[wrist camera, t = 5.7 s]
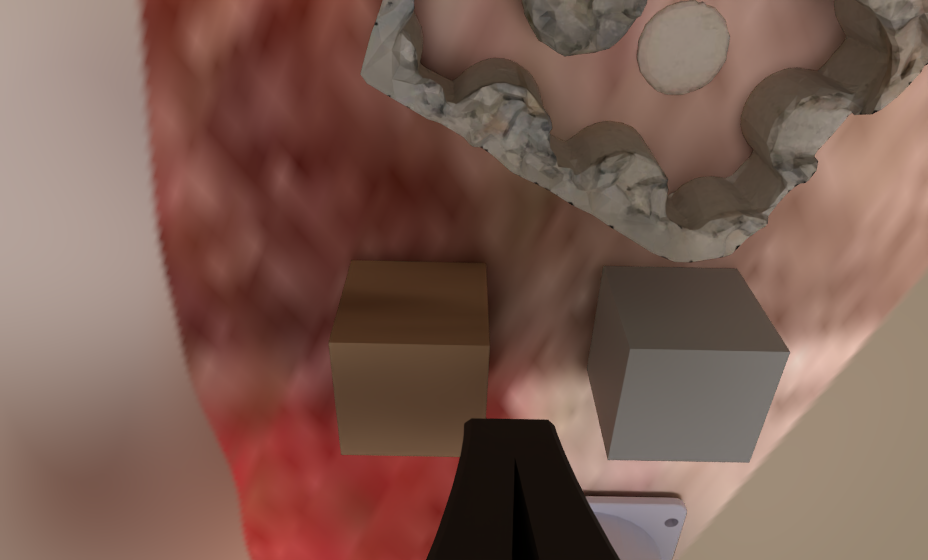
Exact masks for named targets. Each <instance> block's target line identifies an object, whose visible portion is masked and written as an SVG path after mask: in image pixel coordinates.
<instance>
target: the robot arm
mask: <svg viewBox="0 0 928 560" xmlns="http://www.w3.org/2000/svg"><path fill="white" fill-rule="evenodd" d="M686 514H687V509H686V506H685V503H684V502H683V501H682V500H681V499H678V498H662V497H610V496H585V495H584V493H583V491H582V489H581V487H580V485H579V483H578V481H577V479H576V477H575V474H574V472H573V470H572V468H571V466H570V464H569V461H568V459H567V457H566V455H565V452H564V450H563V447H562V445H561V442H560V440H559V437H558V435H557V432H556V429H555V426H554V425H553V424H552V423H551V422H550V421H549V420H531V419H482V418H471V419H470V420H468V421H467V422H465V423H464V436H463V443H462V449H461V454H460V459H459V464H458V468H457V472H456V475H455V479H454V483H453V486H452V490H451V493H450V496H449V499H448V502H447V505H446V508H445V511H444V514H443V517H442V520H441V523H440V526H439V529H438V531H437V534H436V537H435V539H434V542H433V544H432V547H431V549H430V552H429V554H428V557H427V559H426V560H672V558H673V555H674V552H675V549H676V546H677V543H678V540H679V536H680V533H681V530H682V527H683V524H684V521H685V518H686Z"/></svg>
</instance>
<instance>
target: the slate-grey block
mask: <svg viewBox="0 0 928 560" xmlns="http://www.w3.org/2000/svg"><path fill="white" fill-rule="evenodd" d="M789 354H790V351H789V349H788V348H787V346H786V345H785V343H784V342H783V340H782V338H781V337H780V335H779V334H778V332H777V331H776V329H775V327H774V326H773V324H772V323H771V321H770V320H769V318H768V316H767V315H766V313H765V312H764V310H763V309H762V307H761V305H760V304H759V302H758V301H757V299H756V298H755V296H754V294H753V293H752V291H751V290H750V288H749V287H748V285H747V284H746V282H745V280H744V279H743V277H742V276H741V274H740V273H739V271H738V269H731V268H683V267H635V266H603V271H602V278H601V284H600V290H599V296H598V303H597V309H596V315H595V321H594V328H593V334H592V340H591V346H590V353H589V359H588V365H587V371H588V375H589V380H590V384H591V389H592V393H593V397H594V402H595V406H596V410H597V415H598V419H599V424H600V428H601V432H602V437H603V441H604V445H605V450H606V454H607V459H608V460H641V461H694V462H747V463H749V462H750V459H751V457H752V454H753V451H754V448H755V446H756V443H757V440H758V438H759V435H760V432H761V430H762V427H763V424H764V421H765V419H766V416H767V413H768V411H769V408H770V405H771V402H772V400H773V397H774V394H775V392H776V389H777V386H778V384H779V381H780V378H781V375H782V373H783V370H784V367H785V365H786V362H787V359H788V357H789Z"/></svg>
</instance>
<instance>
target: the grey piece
mask: <svg viewBox="0 0 928 560" xmlns="http://www.w3.org/2000/svg"><path fill="white" fill-rule="evenodd" d="M522 4H523V8H524V14H525V16H526V18H527V20H528V22H529V24H530V26H531V28H532V30H533V31H534V33H535V35H536V37H537V38H538V40H539V41H541V42H543V43H545V44H546V45H548V46H549V47H550V48H552V49H553V50H555V51H556V52H557V53H559V54H561V55H563V56H571V55H577V54H586V53H594V52H598V51H602V50H606V49H609V48H610V47H612V46H613V45H614V44H615V43H617V42H618V41H619V40H620V39H621V38H622V37H623V36H624V35H625V34H626V32H627V31H628V29H629V28H630V27H631V25H632V24H633V22H634V21H635V20H636V18H637V17H639V16H641V14H642V12H643V10H644V8H645V6H646V4H647V0H522ZM834 8H835V15H836V18H837V20H838V22H839V24H840V26H841V28H842V30H843V31H844V32H845V34H846V39H845V40H844V42H843V43H842V44H841V46H840V47H839V48H838V49H837V50H836V51H835V52H834V54H833V55H832V56H831V57H830V59H829V60H828V61H827V62H826V63H825V64H824V65H823V66H822V67H821V68H820V69H819V70H818V71H815V70H809V69H804V68H788V69H784V70H781V71H779V72H776V73H774V74H772V75H770V76H768V77H767V78H765V79H764V80H763V81H762V82H761V83H759V84H758V85H757V86H756V88H755V89H754V90H753V91H752V93H751V94H750V96H749V97H748V100H747V101H746V103H745V106H744V108H743V111H742V114H741V129H742V133H743V135H744V137H745V139H746V141H747V142H748V144H749V145H750V146H751V147H752V148H753V149H754V150H753V152H752V154H751V156H750V157H749V159H747V160H746V161H745V162H744V163H743V164H742V165H741V166H740V167H739V168H738V170H737V171H736V172H735V173H734V174H733V175H731V176H729V177H726V178H722V177H714V176H708V177H699V178H696V179H693V180H691V181H689V182H687V183H685V184H684V185H682V186H681V187H680V188H679V189H678V190H677V191H675V192H674V193H671V194H670V195H667V193H668V187H667V181H668V179H667V177H666V176H665V174H664V172H663V171H662V169H661V167H660V166H659V164H658V162H657V161H656V159H655V158H654V156H653V154H652V153H651V151H650V150H649V148H648V147H647V145H646V144H645V142H644V140H643V139H642V137H641V136H640V135H639V133H638V132H637V131H636V130H635V129H634V128H633V127H631V126H628V125H626V124H624V123H619V122H613V121H605V122H599V123H596V124H593V125H591V126H588V127H586V128H584V129H583V130H581V131H580V132H579V133H577V134H576V135H575V136H573V137H572V138H571V139H569V140H568V141H563V140H560V139H558V138H556V137H554V136H553V135H551V134H550V130H551V129H552V122H551V119H550V117H549V115H548V113H547V112H546V111H545V109H544V107H543V103H542V100H541V96H540V93H539V90H538V87H537V84H536V82H535V80H534V78H533V76H532V75H531V74H530V73H529V72H528V71H526V70H525V69H524V68H523V67H521V66H520V65H518V64H517V63H515V62H513V61H511V60H507V59H502V58H490V59H486V60H483V61H480V62H478V63H476V64H474V65H472V66H470V67H469V68H468V69H466V70H465V71H464V72H463V73H462V74H461V75H460V76H459V77H457V78H456V79H455V80H453V81H451V80H449V79H447V78H444V77H442V76H440V75H439V74H437V73H435V72H433V71H431V70H429V69H427V68H425V67H424V66H423V65H422V64H421V63H420V59H421V55H422V50H423V33H422V27H421V24H420V22H419V21H418V19H417V17H416V15H415V13H414V0H383V1H382V4H381V7H380V10H379V13H378V16H377V19H376V22H375V25H374V28H373V30H372V33H371V36H370V40H369V44H368V47H367V51H366V55H365V59H364V62H363V66H362V70H361V76H362V77H363V79H364V80H365V81H366V83H367V84H369V85H371V86H372V87H374V88H376V89H377V90H379V91H381V92H382V93H384V94H386V95H387V96H389V97H391V98H393V99H394V100H396V101H398V102H399V103H401V104H403V105H405V106H406V107H408V108H410V109H411V110H413V111H415V112H417V113H418V114H420V115H422V116H423V117H425V118H427V119H429V120H432V121H435V122H438V123H441V124H442V125H444V126H446V127H447V128H449V129H451V130H453V131H454V132H456V133H458V134H459V135H461V136H462V137H464V138H465V139H466V141H467V142H468V143H469V144H470V145H472V146H473V147H482V148H483V149H484V150H486V151H487V152H489V153H490V154H491V155H493V156H494V157H495V158H496V159H497V160H499V161H500V162H501V163H502V164H503V165H504V166H505V167H506V168H507V169H509V170H510V171H511V172H512V173H514V174H516V175H518V176H520V177H522V178H524V179H527V180H529V181H531V182H533V183H535V184H537V185H539V186H541V187H543V188H545V189H547V190H549V191H551V192H552V193H554V194H555V195H557V196H559V197H560V198H562V199H563V200H565V201H567V202H568V203H570V204H571V205H573V206H575V207H577V208H579V209H581V210H583V211H585V212H588V213H590V214H592V215H594V216H595V217H596V218H598V219H599V220H601V221H602V222H604V223H605V224H607V225H608V226H610V227H611V228H613V229H615V230H616V231H618V232H619V233H621V234H623V235H624V236H626V237H627V238H629V239H631V240H632V241H634V242H636V243H637V244H639V245H640V246H642V247H644V248H645V249H647V250H648V251H650V252H652V253H653V254H656V255H658V256H661V257H663V258H666V259H668V260H671V261H673V262H696V261H702V260H708V259H714V258H720V257H725V256H728V255H731V254H732V253H733V252H734V251H735V250H736V249H737V248H738V247H739V246H740V245H741V244H742V243H743V242H744V241H745V240H746V239H747V238H748V237H750V236H751V235H753V234H754V233H755V232H757V231H758V230H759V229H761V228H763V227H765V226H766V225H767V223H768V216H769V214H770V213H771V212H772V210H773V209H774V208H775V207H776V205H777V204H778V203H779V202H780V201H781V200H782V199H783V197H784V196H785V195H786V194H787V193H788V192H789V191H790V190H792V189H793V188H794V187H795V186H797V185H798V184H800V183H806V182H807V181H808V180H809V179H810V178H811V177H812V175H813V174H814V173H815V172H816V170H817V164H818V160H817V159H816V158H815V157H814V156H815V154H816V152H817V150H818V149H819V148H820V147H821V146H822V145H823V144H824V143H825V142H826V141H827V140H828V139H829V138H830V137H831V136H832V134H833V133H834V132H835V131H836V130H837V129H838V127H839V126H840V125H841V124H842V123H843V122H844V120H845V119H846V118H847V117H848V116H849V115H850V114H851V113H853V114H854V115H862V114H873V113H875V112H877V111H879V110H881V109H883V108H884V107H885V106H886V105H888V104H889V103H890V102H891V101H893V100H894V99H895V98H897V97H898V96H899V95H900V94H901V93H902V92H903V91H904V90H905V89H906V88H907V87H908V86H909V85H910V83H911V82H912V81H913V80H914V79H915V78H916V77H917V76H918V75H919V74H920V72H921V71H922V69H923V67H924V66H925V65H927V64H928V0H834ZM729 40H730V35H729V33H728V29H727V25H726V21H725V19H724V18H723V17H722V16H721V14H720V13H719V12H718V11H717V10H716V9H715V8H714V7H712V6H709V5H706V4H705V3H704V2H699V3H698V2H697V1H696V0H690V1H682V2H678V3H675V4H672V5H669V6H667V7H665V8H664V9H662V10H661V11H659V12H658V13H656V14H655V15H654V16H653V17H652V18H651V19H650V20H649V22H648V23H647V24H646V25H645V27H644V30H643V32H642V34H641V36H640V38H639V42H638V50H637V61H638V64H639V68H640V72H641V73H642V75H643V76H644V78H645V79H646V81H647V82H648V83H649V84H650V85H651V86H652V87H653V88H654V89H656V90H657V91H659V92H661V93H664V94H669V95H683V94H686V93H690V92H692V91H695V90H697V89H700V88H702V87H703V86H705V85H706V84H708V83H709V82H711V81H712V79H713V78H714V77H715V76H716V74H717V73H718V72H719V71H720V69H721V67H722V66H723V64H724V63H725V61H726V56H727V54H726V53H727V52H728V46H729Z"/></svg>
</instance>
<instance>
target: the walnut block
mask: <svg viewBox="0 0 928 560" xmlns="http://www.w3.org/2000/svg"><path fill="white" fill-rule="evenodd" d="M329 351H330V360H331V369H332V378H333V387H334V396H335V405H336V414H337V423H338V431H339V440H340V449H341V455H384V456H438V457H460V454H461V449H462V443H463V436H464V423H465V422H467V421H468V420H470V419H471V418H482V419H486V406H487V388H488V370H489V352H490V339H489V317H488V295H487V272H486V263H464V262H417V261H369V260H351V264H350V267H349V271H348V274H347V278H346V282H345V285H344V289H343V292H342V296H341V299H340V303H339V307H338V310H337V314H336V317H335V321H334V325H333V328H332V332H331V335H330V339H329Z"/></svg>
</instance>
